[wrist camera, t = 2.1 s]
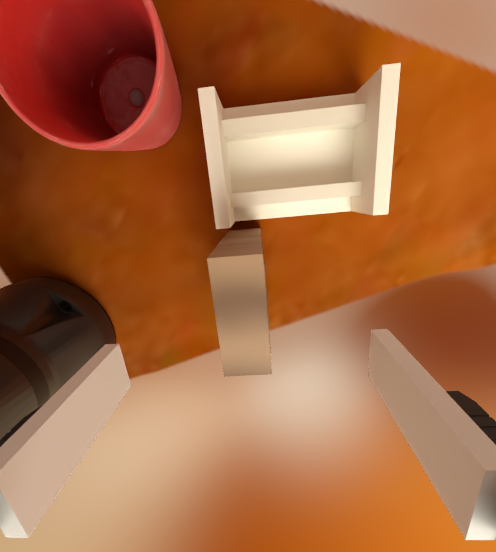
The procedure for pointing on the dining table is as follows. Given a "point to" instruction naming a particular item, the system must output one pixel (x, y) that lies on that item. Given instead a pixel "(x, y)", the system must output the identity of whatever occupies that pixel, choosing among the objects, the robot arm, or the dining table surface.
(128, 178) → the dining table surface
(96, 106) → the flower pot
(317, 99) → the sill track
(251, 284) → the walnut panel
